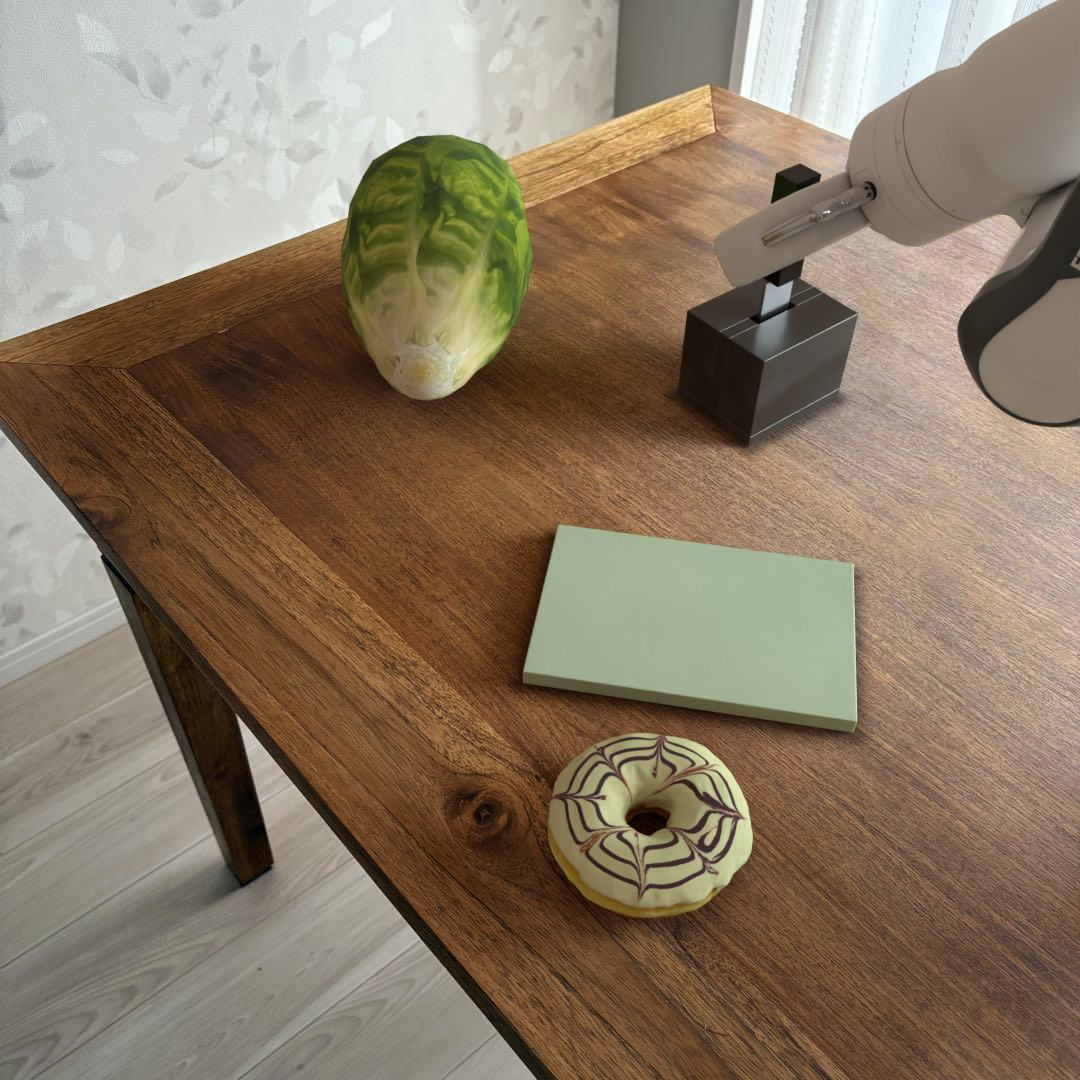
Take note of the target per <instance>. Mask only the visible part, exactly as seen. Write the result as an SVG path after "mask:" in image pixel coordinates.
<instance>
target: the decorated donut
mask: <svg viewBox="0 0 1080 1080" xmlns="http://www.w3.org/2000/svg"><path fill="white" fill-rule="evenodd" d="M646 813H657V814H659V815H660V816H661V817H664V818H665V819H666V820H667V822H666V827H665V828H662V829H659V830H657V831H655V832H654V833H653V834H651V835H645V834H643V833H641V832H639V831H637V830H636V829H634V828H633V827H631V825H629V823H630V821H631V820H632V819H634V817H635V816H637V815H641V814H646ZM753 838H754V836H753V829H752V821H751V816H750V811H749V805H748V803H747V800H746V798H745V796H744V793H743V790H742V789H741V787H740V785H739V783H738V781H737V780H736V779H735V777H734V775H733V773H732V772H731V771H730V770H729V769H728V767H727V766H726V765H725V764H724V763H723V762H722V760H720V759H719V757H717V756H716V755H715V754H714V753H712V752H711V750H709V749H708V748H707V747H705V746H704V745H702V744H700V743H698V742H696V741H692V740H689V739H687V738H684V737H677V736H672V735H664V734H657V733H649V732H633V733H626V734H622V735H617V736H613V737H610V738H609V737H608V738H607V739H605V740H602V741H599V742H597V743H595V744H592V745H591V746H589V747H588V748H586V750H584V751H583V752H581V753H579V754H578V755H576V756H575V757H573V759H572V760H571V761H570V762H569V763H568V764H567V765H566V767H564V768H563V769H562V770H561V771H560V772H559V774H558V776H557V778H556V781H555V782H554V784H553V792H552V796H551V798H550V802H549V808H548V815H547V839H548V844H549V847H550V850H551V854H552V855H553V857H554V859H555V861H556V862H557V864H558V866H559V867H560V868H561V870H562V871H563V872H564V874H565V875H566V878H567V880H568V881H569V882H570V883H571V884H572V885H574V886H575V888H577V889H578V891H579V892H580V893H581V895H582V896H584V898H585V899H587V900H588V901H590V902H592V903H594V904H596V905H598V906H600V907H602V908H604V909H607V910H609V911H611V912H613V913H617V914H619V915H621V916H624V917H628V918H634V919H635V918H637V919H639V918H640V919H659V918H671V917H672V918H673V917H676V916H679V915H684V914H686V913H688V912H693V911H696V910H697V909H700V908H701V907H703V906H704V905H706V904H707V903H708V902H710V901H711V900H712V899H713V898H715V896H716V895H718V893H720V891H721V890H723V889H724V888H725V887H726V886H728V885H729V883H730V882H731V880H732V877H733V876H734V874H735V873H736V872H737V871H738V870H740V868H741V867H742V866H744V865H745V864H746V863H747V861H748V859H749V857H750V856H751V852H752V849H753V841H754V839H753Z"/></svg>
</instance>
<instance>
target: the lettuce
mask: <svg viewBox="0 0 1080 1080" xmlns="http://www.w3.org/2000/svg"><path fill="white" fill-rule="evenodd" d="M519 183H520V182H519V181H518V179H517V178H516V175H515V173H514V171H513V169H512V167H511V165H510V163H509V162H507V161H506V160H505V159H503V157H502V156H500V155H498V154H497V153H496V152H495V151H494V150H492V149H491V148H490V147H489V146H488V145H486V144H484V143H481V142H478V141H475V140H471V139H468V138H465V137H462V136H458V135H454V134H435V135H434V134H433V135H417V136H415V137H412V138H411V139H408V140H406V141H404V142H401V143H400V144H397V145H395V146H394V147H391V149H388V150H387V151H386V152H384V153H382V154H381V155H378V156H377V157H375V158H374V159H372V161H371V162H370V164H369V166H367V169H366V170H365V172H364V173H363V175H362V177H361V179H360V181H359V183H358V185H357V187H356V188H355V189H356V190H355V191H354V194H353V196H352V198H351V200H350V202H349V205H348V213H347V219H346V221H347V222H346V226H345V231H344V234H343V238H342V242H341V246H340V274H341V286H342V297H343V301H344V305H345V309H346V312H347V314H348V315H347V316H348V317H349V320H350V321H351V324H352V326H353V328H354V331H355V334H356V335H357V338H358V340H359V342H360V344H361V347H362V349H363V351H364V352H365V353H366V354H367V355H368V357H370V358H371V359H372V361H373V362H374V365H375V366H376V368H377V370H378V372H379V374H380V376H382V378H384V380H385V381H386V382H387V383H388V384H389V385H390V386H391V387H392V388H393V389H394V390H396V391H397V392H398V393H400V394H402V395H404V396H406V397H408V398H410V399H414V400H421V401H427V402H429V401H432V400H433V401H434V400H437V399H443V398H445V397H447V396H450V395H451V394H453V393H454V392H456V391H457V390H458V389H461V388H462V387H463V386H465V385H466V384H467V382H468V381H470V379H471V378H472V377H473V376H474V375H475V374H476V373H477V372H478V371H479V370H481V369H482V368H483V367H485V366H486V365H488V364H489V363H491V361H493V359H494V358H495V357H496V356H497V354H498V353H499V352H500V351H501V349H502V347H503V345H504V344H505V342H506V340H507V338H508V336H509V334H510V332H511V330H512V329H513V327H514V324H515V322H516V320H517V318H518V316H519V314H520V312H521V311H520V310H521V306H522V302H523V300H524V297H525V296H526V293H527V291H528V288H529V285H530V277H531V276H530V275H531V267H532V261H533V260H532V259H533V250H532V246H531V241H530V235H529V230H528V222H527V216H526V209H525V206H524V203H523V198H522V188H521V186H520V184H519Z"/></svg>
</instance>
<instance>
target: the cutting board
mask: <svg viewBox="0 0 1080 1080" xmlns="http://www.w3.org/2000/svg"><path fill="white" fill-rule="evenodd" d="M854 568H855V567H854V563H853V562H845V561H837V560H830V559H822V558H816V557H815V558H814V557H808V556H802V555H801V556H800V555H793V554H785V553H778V552H771V551H762V550H755V549H747V548H740V547H732V546H725V545H717V544H709V543H703V542H694V541H687V540H679V539H671V538H665V537H659V536H658V537H657V536H649V535H642V534H635V533H627V532H619V531H613V530H606V529H605V530H604V529H597V528H589V527H581V526H575V525H568V524H567V525H566V524H559V523H558V524H557V527H556V531H555V535H554V539H553V543H552V549H551V552H550V556H549V561H548V566H547V569H546V573H545V578H544V582H543V585H542V589H541V594H540V598H539V603H538V606H537V611H536V614H535V620H534V623H533V627H532V631H531V636H530V640H529V643H528V647H527V652H526V656H525V660H524V665H523V669H522V683H523V684H526V685H534V686H540V687H546V688H554V689H559V690H567V691H573V692H580V693H585V694H586V693H587V694H593V695H600V696H607V697H613V698H619V699H625V700H626V699H627V700H633V701H640V702H646V703H654V704H660V705H665V706H666V705H667V706H672V707H678V708H679V707H680V708H685V709H692V710H699V711H707V712H713V713H719V714H727V715H732V716H738V717H745V718H752V719H759V720H765V721H772V722H779V723H784V724H785V723H786V724H792V725H798V726H806V727H812V728H819V729H825V730H832V731H838V732H843V733H845V732H846V733H854V732H855V729H856V726H857V723H858V700H857V699H858V697H857V659H856V658H857V657H856V654H857V653H856V612H855V611H856V610H855V609H856V608H855V574H854V573H855V571H854Z"/></svg>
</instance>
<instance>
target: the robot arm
mask: <svg viewBox="0 0 1080 1080" xmlns="http://www.w3.org/2000/svg"><path fill="white" fill-rule="evenodd" d="M847 157H848V158H847V161H846V164H845V170H844V171H841V172H839V173H837V174H833V175H832V176H830V177H828V178H825V179H823V180H820V182H818V183H816V184H813V185H811V186H809V187H806V188H804V189H801V190H799V191H797V192H795V193H793V194H790V195H788V196H786V197H784V198H782V199H780V200H778V201H776V202H774V203H773V204H771V203H770V204H769V205H767V206H764V207H763V208H762V209H760V210H758V211H756V212H754V213H753V214H751V215H748V216H747V217H746V218H743V219H741V220H740V221H738V222H736V223H734V224H732V225H731V226H729V227H727V228H726V229H724V230H722V231H720V232H719V233H718V234H717V235H716V236H715V237H714V239H713V248H714V252H715V255H716V258H717V260H718V262H719V263H718V264H719V265H720V267H721V270H722V272H723V273H724V276H725V278H726V279H727V281H728V282H729V284H730V285H731V286H732V287H734V288H736V287H742V286H745V285H747V284H750V283H752V282H754V281H756V280H758V279H760V278H763V277H765V276H767V275H769V274H771V273H773V272H775V271H778V270H780V269H782V268H784V267H786V266H788V265H790V264H793V263H795V262H797V261H799V260H801V259H803V258H804V259H806V258H808V257H810V256H812V255H814V254H816V253H818V252H821V251H823V250H824V249H827V248H829V247H831V246H833V245H835V244H838V243H840V242H842V241H845V240H846V239H848V238H851V237H852V236H855V235H857V234H859V233H861V232H863V231H865V230H866V231H867V230H868V229H871V230H872V231H874V232H875V233H877V234H880V235H883V236H884V237H886V238H887V239H889V240H890V241H892V242H894V243H897V244H899V245H902V246H905V247H906V246H907V247H913V248H916V247H917V248H918V247H925V246H929V245H931V244H933V243H936V242H938V241H940V240H942V239H944V238H945V239H946V237H950V236H951V235H954V234H956V233H958V232H960V231H964V230H965V229H968V228H970V227H972V226H974V225H977V224H979V223H982V222H983V221H985V220H988V219H990V218H992V217H996V216H1007V217H1009V218H1011V219H1012V220H1014V221H1015V222H1016V224H1017V226H1018V227H1019V228H1020V229H1021V230H1020V231H1019V233H1018V234H1017V236H1016V237H1015V239H1014V241H1013V242H1012V244H1011V245H1010V247H1009V248H1008V250H1007V251H1006V253H1005V255H1004V256H1003V258H1002V260H1001V261H1000V263H999V264H998V265H997V267H996V269H995V270H994V272H993V273H992V275H991V277H989V279H987V281H985V283H983V285H982V286H981V287H980V288H979V290H978V291H977V293H976V294H975V295H974V297H973V298H972V299H971V301H970V303H968V305H967V306H966V307H965V309H964V310H963V312H962V313H961V315H960V317H959V319H958V323H957V327H956V328H957V329H956V330H957V331H956V335H957V341H958V346H959V348H960V352H961V355H962V357H963V360H964V363H965V366H966V367H967V370H968V372H969V374H970V376H971V377H972V379H973V381H974V383H975V384H976V386H977V387H978V389H979V390H980V391H981V392H982V394H983V395H984V396H985V398H987V400H988V401H990V402H991V404H992V405H993V406H995V407H996V408H997V409H998V410H1000V411H1001V412H1003V413H1004V414H1005V415H1008V416H1009V417H1011V418H1013V419H1014V420H1015V419H1016V420H1018V421H1020V422H1023V423H1026V424H1028V425H1033V426H1038V427H1043V428H1044V427H1045V428H1058V429H1059V428H1061V429H1063V428H1078V427H1080V0H1055V1H1053V2H1051V3H1049V4H1046V5H1045V6H1043V7H1041V8H1039V9H1037V10H1036V11H1033V12H1032V13H1030V14H1028V15H1026V16H1024V17H1022V18H1021V19H1019V20H1017V21H1015V22H1014V23H1012V24H1011V25H1009V26H1007V27H1005V28H1004V29H1002V30H1000V31H999V32H997V33H995V34H994V35H992V36H990V37H989V38H987V39H986V40H985V41H984V42H982V43H980V44H979V46H977V48H975V49H974V50H973V51H972V53H971V54H970V55H969V56H968V57H967V58H966V59H965V61H963V62H962V63H960V64H959V65H957V66H954V67H948V68H945V69H941V70H938V71H936V72H934V73H931V74H930V75H928V76H926V77H925V78H923V79H922V80H920V81H918V82H916V83H915V84H913V85H912V86H910V87H908V88H906V89H905V90H904V91H901V92H900V93H899V94H897V95H895V96H893V98H890V99H889V100H888V101H886V102H884V103H883V104H881V105H880V106H878V107H876V108H875V109H873V110H871V111H870V112H868V113H867V114H866V115H865V116H864V117H862V119H861V120H860V121H859V123H858V124H857V125H856V127H855V129H854V131H853V134H852V135H851V138H850V143H849V148H848V156H847Z"/></svg>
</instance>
